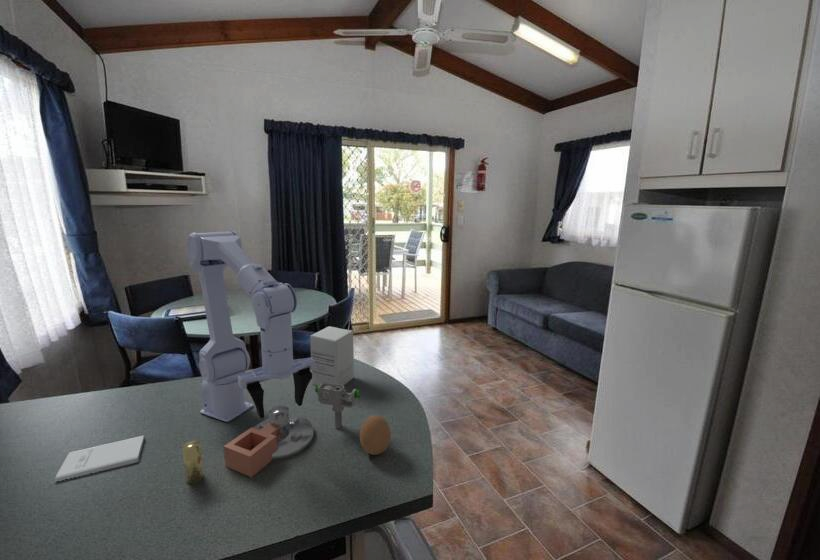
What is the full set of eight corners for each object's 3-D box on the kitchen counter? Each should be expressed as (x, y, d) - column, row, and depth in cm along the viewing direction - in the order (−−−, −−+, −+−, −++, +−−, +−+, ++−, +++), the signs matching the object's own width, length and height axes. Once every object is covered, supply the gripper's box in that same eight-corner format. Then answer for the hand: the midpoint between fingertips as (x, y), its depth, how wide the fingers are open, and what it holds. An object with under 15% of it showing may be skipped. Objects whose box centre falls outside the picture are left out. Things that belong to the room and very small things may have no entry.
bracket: (225, 466, 72) (223, 446, 72) (263, 437, 81) (262, 419, 80) (251, 477, 70) (250, 456, 69) (288, 446, 79) (287, 427, 78)
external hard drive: (138, 464, 73) (56, 485, 68) (145, 441, 80) (70, 457, 75) (137, 457, 73) (54, 477, 67) (144, 434, 80) (69, 450, 74)
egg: (383, 465, 74) (383, 429, 72) (354, 458, 76) (354, 422, 74) (394, 446, 80) (395, 411, 78) (367, 439, 82) (367, 405, 80)
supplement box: (329, 371, 113) (328, 325, 110) (354, 377, 110) (354, 330, 107) (310, 384, 105) (309, 335, 102) (337, 391, 102) (336, 340, 99)
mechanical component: (356, 433, 84) (356, 393, 82) (314, 427, 86) (313, 387, 84) (361, 426, 86) (361, 387, 84) (320, 420, 88) (319, 381, 86)
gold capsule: (182, 480, 69) (178, 447, 67) (196, 470, 71) (192, 438, 70) (193, 485, 68) (189, 451, 66) (206, 475, 70) (203, 442, 69)
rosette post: (230, 448, 78) (228, 419, 76) (278, 414, 90) (277, 388, 89) (282, 468, 72) (281, 437, 71) (325, 429, 85) (325, 402, 84)
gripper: (243, 363, 64) (248, 432, 67) (320, 345, 73) (322, 406, 76) (233, 349, 70) (238, 414, 73) (306, 334, 79) (308, 392, 81)
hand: (280, 409), depth 75 cm, fingers open, 7 cm apart
